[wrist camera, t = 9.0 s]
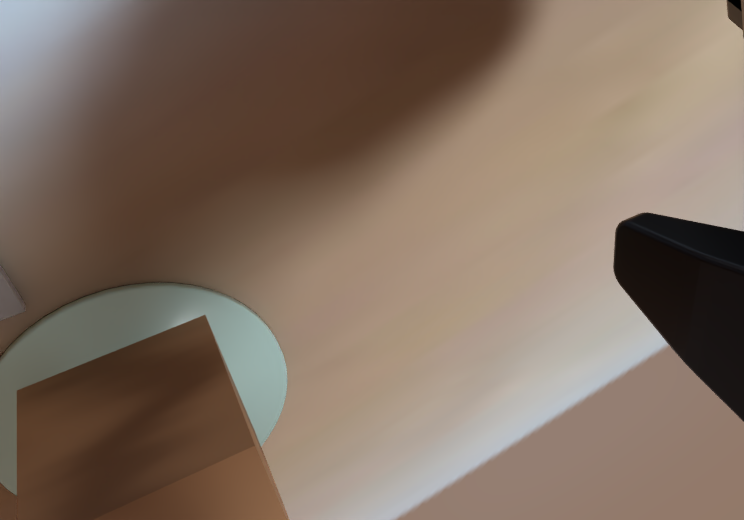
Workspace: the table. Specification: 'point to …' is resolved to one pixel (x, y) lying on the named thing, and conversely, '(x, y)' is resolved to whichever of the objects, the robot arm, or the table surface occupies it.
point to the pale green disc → (132, 324)
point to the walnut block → (143, 438)
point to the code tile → (9, 298)
